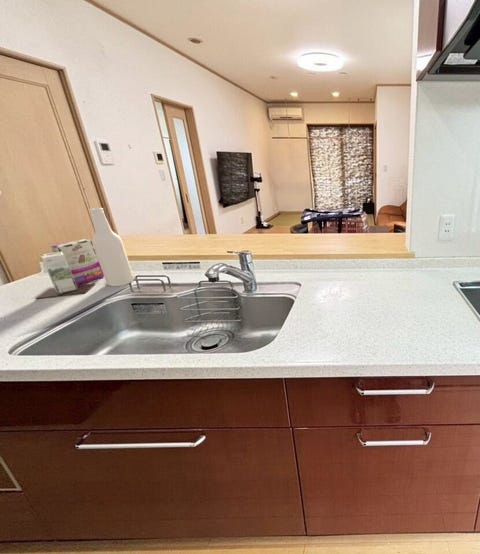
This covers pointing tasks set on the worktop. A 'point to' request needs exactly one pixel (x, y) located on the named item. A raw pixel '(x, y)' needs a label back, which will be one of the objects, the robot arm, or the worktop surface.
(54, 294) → the board
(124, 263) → the alcohol
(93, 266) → the candy bar box
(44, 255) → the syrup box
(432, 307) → the worktop surface
